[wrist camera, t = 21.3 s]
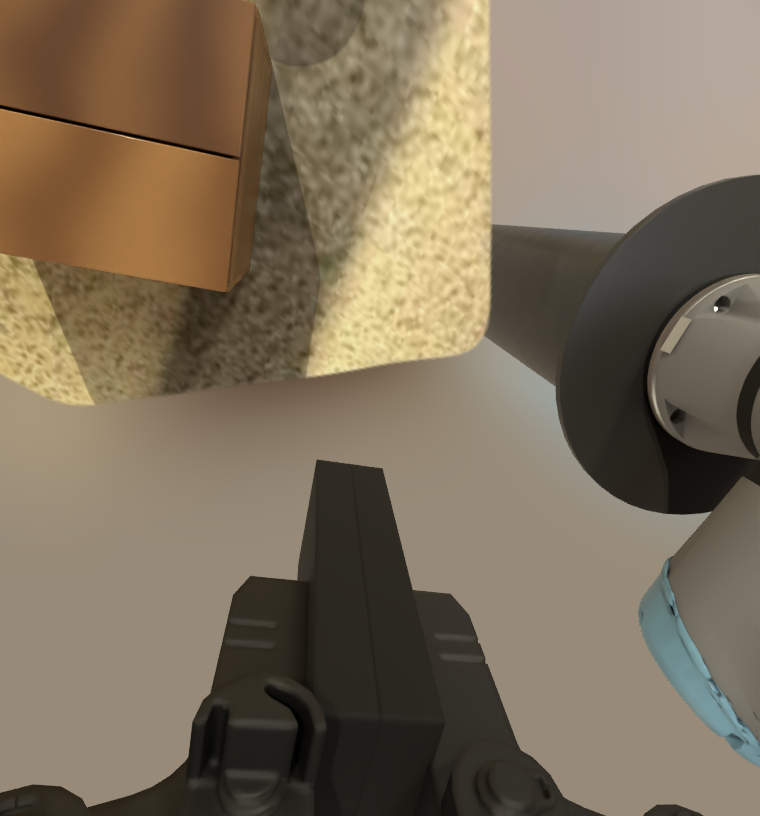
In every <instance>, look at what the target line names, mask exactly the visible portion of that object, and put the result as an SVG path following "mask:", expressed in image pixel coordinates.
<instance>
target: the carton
mask: <svg viewBox="0 0 760 816" xmlns="http://www.w3.org/2000/svg"><path fill="white" fill-rule="evenodd" d="M271 75H272V62H271V58H270V54H269V50H268V46H267V42H266V38H265V34H264V30H263V26H262V22H261V18H260V14H259V10H258V8H257V7H256V5H255V3H253V2H249V1H246V0H0V109H4V110H8V111H13V112H18V113H22V114H27V115H31V116H36V117H41V118H45V119H50V120H54V121H59V122H64V123H68V124H73V125H77V126H82V127H87V128H91V129H96V130H100V131H105V132H110V133H114V134H119V135H123V136H128V137H133V138H137V139H142V140H146V141H151V142H156V143H160V144H165V145H169V146H174V147H179V148H183V149H188V150H192V151H197V152H202V153H206V154H211V155H215V156H220V157H225V158H229V159H234V160H238V161H240V167H239V177H238V187H237V197H236V207H235V216H234V226H233V236H232V246H231V256H230V266H229V276H228V286H227V292H229V291H230V290H231V289H232V288H233V287H234V286H235V285H236V284H237V283H238V282H239V281H240V280H241V279H242V278H243V277H244V276H245V275H246V274H247V273H248V272H249V268H250V260H251V251H252V242H253V233H254V224H255V216H256V207H257V198H258V189H259V180H260V172H261V163H262V154H263V145H264V137H265V128H266V119H267V110H268V101H269V93H270V84H271Z"/></svg>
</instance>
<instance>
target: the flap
mask: <svg viewBox="0 0 760 816" xmlns="http://www.w3.org/2000/svg"><path fill="white" fill-rule="evenodd" d="M239 167H240V161H238V160H234V159H229V158H225V157H220V156H215V155H211V154H206V153H202V152H197V151H192V150H188V149H183V148H179V147H174V146H169V145H165V144H160V143H156V142H151V141H146V140H142V139H137V138H133V137H128V136H123V135H119V134H114V133H110V132H105V131H100V130H96V129H91V128H87V127H82V126H77V125H73V124H68V123H64V122H59V121H54V120H50V119H45V118H41V117H36V116H31V115H27V114H22V113H18V112H13V111H8V110H4V109H0V253H1V254H7V255H13V256H18V257H24V258H30V259H36V260H41V261H47V262H53V263H59V264H64V265H70V266H76V267H82V268H87V269H93V270H99V271H105V272H110V273H116V274H122V275H128V276H133V277H139V278H145V279H151V280H157V281H162V282H168V283H174V284H180V285H185V286H191V287H197V288H203V289H208V290H214V291H220V292H227V286H228V276H229V266H230V256H231V246H232V236H233V226H234V216H235V207H236V197H237V187H238V177H239Z"/></svg>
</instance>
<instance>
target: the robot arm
mask: <svg viewBox="0 0 760 816" xmlns="http://www.w3.org/2000/svg"><path fill="white" fill-rule="evenodd" d="M643 387H644V395H645V400H646V403H647V406H648V409H649V411H650V413H651V415H652V417H653V418H654V420H655V421H656V423H657V424H658V425H659V426H660V427H661V428H662V429H663V430H664V431H665V432H667V433H668V434H669V435H671V436H673V437H674V438H676V439H677V440H679V441H681V442H682V443H684V444H686V445H688V446H690V447H692V448H695V449H698V450H703V451H707V452H712V453H718V454H725V455H731V456H737V457H743V458H750V459H756V461H755V462H754V464H753V465H752V466H751V467H750V468H749V470H748V471H747V472H746V473H745V474H744V475H743V476H742V477H741V478H740V479H739V481H738V482H737V483H736V484H735V485H734V487H733V488H732V489H731V490H730V491H729V492H728V494H727V495H726V496H725V497H724V498H723V500H722V501H721V502H720V503H719V504H718V505H717V507H716V508H715V509H714V510H713V511H712V513H711V514H710V515H709V516H708V517H707V519H706V520H705V521H704V522H703V523H702V524H701V525H700V527H699V528H698V529H697V530H696V531H695V532H694V533H693V535H692V536H691V537H690V538H689V539H688V540H687V541H686V542H685V544H684V545H683V546H682V547H681V548H680V549H679V551H678V552H677V553H676V554H675V555H674V556H672V557H670V558H669V559H667V561H666V562H665V563H664V565H663V568H662V572H661V573H660V575H659V576H658V578H657V579H656V580H655V581H654V583H653V584H652V585H651V587H650V588H649V589H648V591H647V592H646V593H645V594H644V596H643V598H642V599H641V602H640V605H639V611H638V616H639V623H640V626H641V631H642V635H643V638H644V639H645V642H646V644H647V647H648V649H649V651H650V653H651V654H652V656H653V657H654V660H655V661H656V662H657V664H658V666H659V667H660V669H661V671H662V672H663V674H664V675H665V676H666V678H667V679H668V681H669V682H670V683H671V685H672V686H673V687H674V688H675V690H676V691H677V692H678V694H679V695H680V696H681V697H682V699H683V700H684V701H685V702H686V703H687V705H688V706H689V707H690V708H691V709H692V710H693V711H694V712H695V714H696V715H697V716H698V717H699V718H700V719H701V720H702V721H703V722H704V723H705V724H706V725H707V726H708V727H709V728H710V729H711V730H712V731H713V732H714V733H715V734H717V736H721V737H724V738H725V739H726V740H727V742H728V743H729V744H730V746H731V747H732V748H733V749H734V751H736V752H737V753H738V754H740V755H741V756H742V757H744V758H745V759H746V760H748V761H749V762H751V763H753V764H754V765H756V766H758V767H760V274H758V273H739V274H734V275H729V276H725V277H722V278H719V279H717V280H714V281H712V282H710V283H708V284H706V285H704V286H702V287H701V288H699V289H697V290H696V291H694V292H693V293H692V294H690V295H689V296H688V297H686V298H685V299H684V300H683V301H682V302H681V303H680V304H679V305H678V306H677V307H676V308H675V309H674V310H673V311H672V312H671V313H670V314H669V315H668V317H667V318H666V319H665V321H664V322H663V324H662V325H661V327H660V328H659V330H658V332H657V333H656V335H655V337H654V339H653V341H652V344H651V346H650V349H649V352H648V355H647V358H646V362H645V367H644V375H643ZM0 816H605V815H602V814H600V813H597V812H594V811H592V810H589V809H586V808H584V807H582V806H580V805H577V804H575V803H573V802H571V801H569V800H567V799H565V798H564V797H563V796H562V794H561V792H560V791H559V789H558V787H557V785H556V784H555V782H554V781H553V779H552V777H551V775H550V774H549V773H548V772H547V771H546V770H545V769H544V768H543V767H542V766H541V765H539V763H538V762H537V761H536V760H535V759H534V758H533V757H531V756H529V755H528V754H526V753H524V752H523V751H521V750H520V748H519V746H518V744H517V741H516V739H515V736H514V733H513V731H512V728H511V725H510V723H509V720H508V717H507V715H506V712H505V709H504V707H503V704H502V702H501V699H500V696H499V693H498V691H497V688H496V686H495V683H494V680H493V678H492V675H491V672H490V670H489V667H488V664H485V656H484V653H483V651H482V648H481V645H480V643H478V638H477V635H476V632H475V629H474V627H473V624H472V622H471V619H470V616H469V614H467V612H466V611H465V610H464V609H463V608H462V606H461V605H460V604H459V603H458V602H457V601H456V600H455V599H454V597H453V596H452V595H451V594H446V593H436V592H426V591H416V590H412V586H411V582H410V578H409V573H408V569H407V566H406V561H405V557H404V554H403V550H402V545H401V541H400V537H399V533H398V529H397V525H396V521H395V517H394V513H393V509H392V505H391V501H390V497H389V493H388V489H387V485H386V482H385V477H384V473H383V469H382V468H374V467H367V466H360V465H353V464H345V463H338V462H330V461H323V460H317V462H316V467H315V473H314V479H313V484H312V490H311V496H310V501H309V507H308V512H307V518H306V524H305V529H304V535H303V541H302V547H301V552H300V558H299V565H298V580H297V581H296V580H285V579H275V578H265V577H255V576H250V577H249V578H248V580H246V581H245V583H244V584H243V585H242V586H241V587H240V588H239V589H238V591H236V593H235V594H234V595H233V598H232V603H231V607H230V611H229V615H228V620H227V624H226V628H225V633H224V637H223V642H222V646H221V650H220V654H219V659H218V663H217V668H216V672H215V676H214V681H213V685H212V689H211V693H210V695H208V696H207V697H206V698H205V699H204V700H203V702H202V704H201V706H200V708H199V710H198V712H197V714H196V716H195V718H194V720H193V723H192V732H191V740H190V749H189V757H188V758H187V760H186V761H185V762H184V763H183V764H182V765H181V766H180V767H179V768H178V769H177V770H176V771H175V772H174V773H173V774H171V775H170V776H169V777H167V778H166V779H164V780H162V781H161V782H159V783H158V784H156V785H155V786H153V787H151V788H148V789H146V790H143V791H141V792H138V793H136V794H133V795H130V796H127V797H123V798H120V799H116V800H113V801H109V802H105V803H102V804H98V805H95V806H91V807H88V808H87V807H86V805H85V804H84V801H83V800H82V798H80V797H78V796H77V795H75V794H73V793H71V792H70V791H68V790H66V789H64V788H63V787H60V786H45V785H30V786H25V787H21V788H18V789H14V790H10V791H6V792H2V793H0ZM644 816H703V815H701V814H700V813H698V812H695V811H692V810H689V809H687V808H684V807H681V806H678V805H656V806H655V807H653V808H652V809H650V810H649V811H648V812H646V813H645V814H644Z"/></svg>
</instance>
